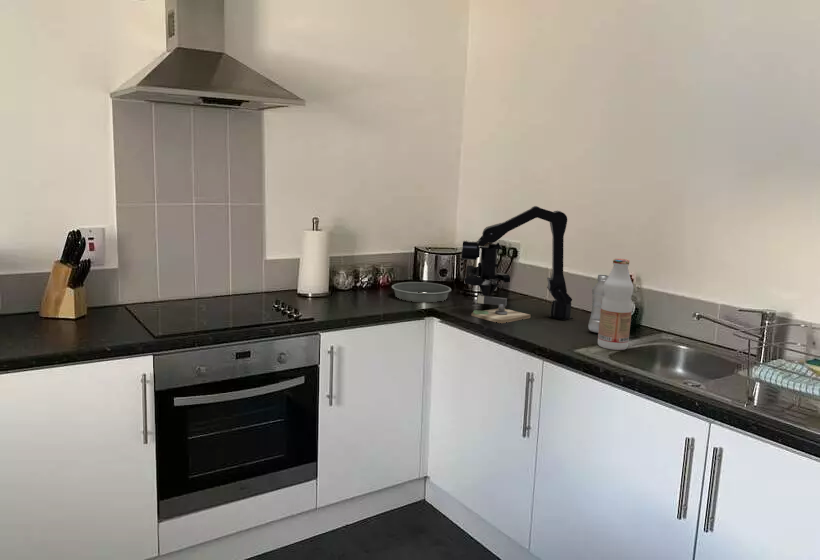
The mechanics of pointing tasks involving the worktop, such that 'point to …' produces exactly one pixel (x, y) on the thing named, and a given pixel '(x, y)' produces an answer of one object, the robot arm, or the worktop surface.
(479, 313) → the beige flat board
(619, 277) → the fruit juice
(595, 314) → the plastic bottle
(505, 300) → the peg
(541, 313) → the worktop surface
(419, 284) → the cake pan
